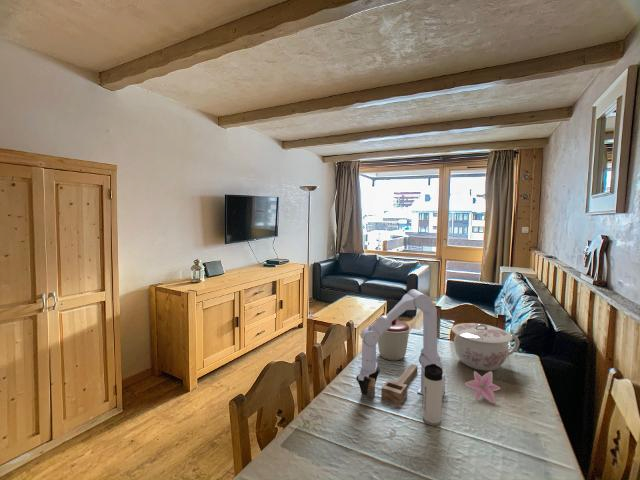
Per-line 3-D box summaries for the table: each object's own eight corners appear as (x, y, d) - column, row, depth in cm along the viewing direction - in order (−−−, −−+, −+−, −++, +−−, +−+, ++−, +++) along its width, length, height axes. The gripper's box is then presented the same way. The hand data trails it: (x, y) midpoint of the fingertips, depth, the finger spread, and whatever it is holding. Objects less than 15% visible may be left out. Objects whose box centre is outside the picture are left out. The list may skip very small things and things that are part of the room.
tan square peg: (374, 397, 134) (375, 378, 133) (372, 399, 132) (373, 380, 132) (363, 393, 137) (363, 375, 136) (361, 395, 135) (361, 377, 134)
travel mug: (440, 416, 121) (442, 364, 120) (441, 427, 115) (443, 373, 113) (423, 413, 123) (424, 362, 122) (422, 423, 117) (424, 370, 116)
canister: (413, 364, 163) (415, 323, 162) (377, 364, 164) (378, 323, 162) (405, 349, 181) (406, 312, 180) (372, 349, 182) (373, 312, 180)
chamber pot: (440, 363, 165) (441, 323, 163) (464, 348, 183) (465, 312, 182) (500, 385, 144) (502, 339, 142) (520, 365, 163) (522, 325, 161)
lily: (460, 394, 138) (464, 381, 133) (472, 376, 145) (476, 362, 140) (489, 414, 131) (495, 400, 126) (500, 393, 138) (506, 380, 132)
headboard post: (422, 373, 154) (422, 364, 153) (400, 404, 129) (400, 393, 129) (406, 369, 158) (406, 360, 158) (381, 398, 133) (381, 387, 133)
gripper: (367, 349, 141) (367, 379, 142) (351, 361, 129) (351, 394, 130) (382, 353, 137) (382, 384, 139) (367, 366, 125) (367, 400, 127)
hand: (368, 389), depth 134 cm, fingers open, 7 cm apart
